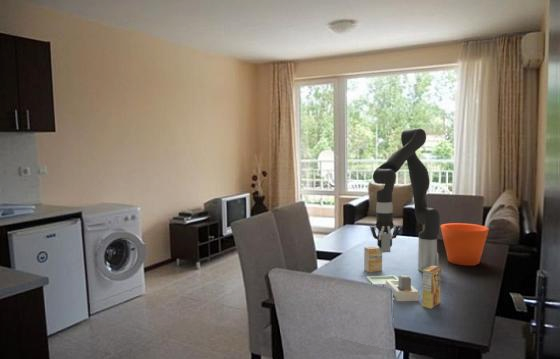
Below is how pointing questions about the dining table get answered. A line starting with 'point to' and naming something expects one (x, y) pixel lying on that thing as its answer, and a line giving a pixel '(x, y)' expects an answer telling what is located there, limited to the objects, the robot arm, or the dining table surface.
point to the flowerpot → (464, 242)
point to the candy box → (431, 286)
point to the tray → (380, 279)
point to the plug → (385, 243)
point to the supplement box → (372, 259)
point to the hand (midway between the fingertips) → (384, 247)
